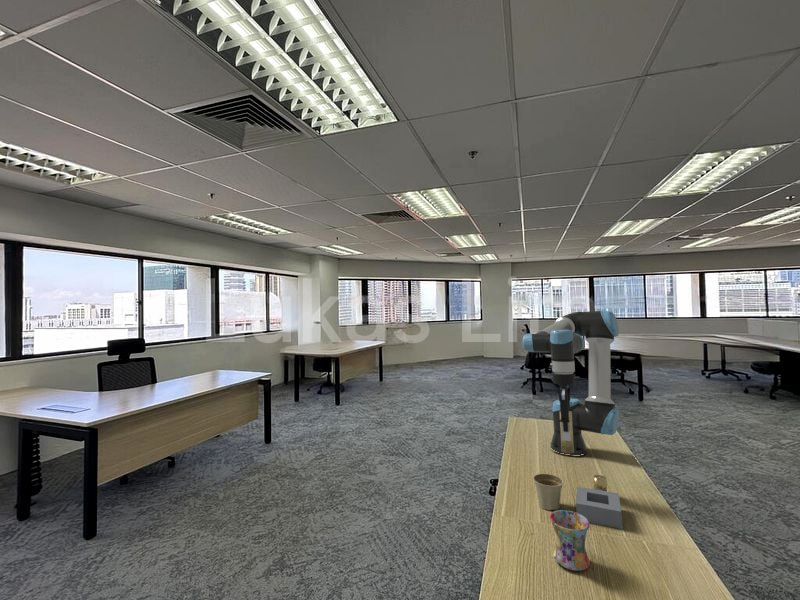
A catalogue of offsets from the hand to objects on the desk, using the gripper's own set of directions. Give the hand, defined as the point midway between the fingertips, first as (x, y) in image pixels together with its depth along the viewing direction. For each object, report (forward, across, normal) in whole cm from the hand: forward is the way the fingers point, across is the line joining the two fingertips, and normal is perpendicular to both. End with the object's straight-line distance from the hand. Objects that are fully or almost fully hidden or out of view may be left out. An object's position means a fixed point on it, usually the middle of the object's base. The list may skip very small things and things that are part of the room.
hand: (567, 438), depth 130 cm
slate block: (+19, +12, +9) cm, 24 cm away
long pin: (+5, 0, 0) cm, 5 cm away
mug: (+19, +38, +2) cm, 43 cm away
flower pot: (+19, +13, -6) cm, 24 cm away
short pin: (+19, -2, +10) cm, 21 cm away
